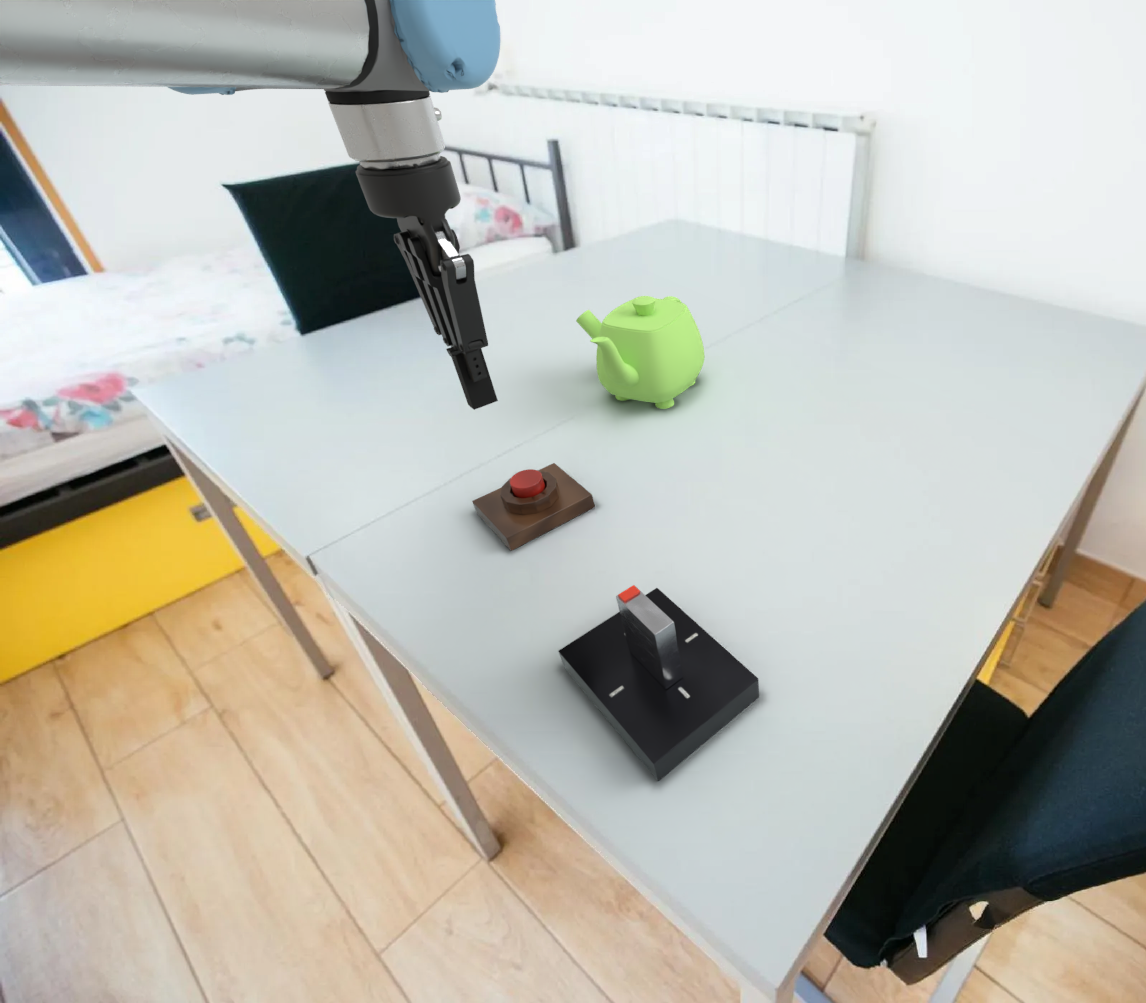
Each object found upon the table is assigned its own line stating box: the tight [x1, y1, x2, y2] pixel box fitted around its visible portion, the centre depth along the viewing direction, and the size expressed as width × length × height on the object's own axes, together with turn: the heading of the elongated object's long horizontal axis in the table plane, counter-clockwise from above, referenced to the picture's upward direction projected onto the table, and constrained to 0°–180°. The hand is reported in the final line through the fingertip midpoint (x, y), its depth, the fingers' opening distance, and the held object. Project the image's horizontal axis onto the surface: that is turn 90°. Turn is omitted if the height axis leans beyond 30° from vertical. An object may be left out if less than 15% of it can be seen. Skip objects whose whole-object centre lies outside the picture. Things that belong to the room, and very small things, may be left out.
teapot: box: [575, 295, 706, 410], centre depth 101 cm, size 25×22×16 cm
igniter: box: [471, 462, 596, 551], centre depth 81 cm, size 12×10×4 cm
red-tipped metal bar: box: [615, 584, 683, 689], centre depth 57 cm, size 6×2×8 cm, turn 43°
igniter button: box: [509, 468, 545, 498], centre depth 79 cm, size 4×4×2 cm
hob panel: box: [557, 587, 760, 782], centre depth 60 cm, size 12×16×3 cm
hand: (483, 402), depth 67 cm, fingers closed
